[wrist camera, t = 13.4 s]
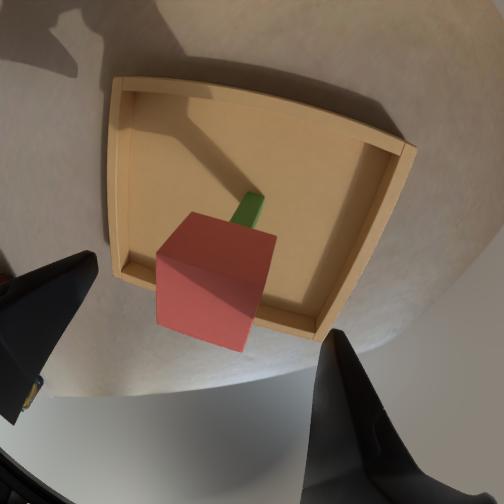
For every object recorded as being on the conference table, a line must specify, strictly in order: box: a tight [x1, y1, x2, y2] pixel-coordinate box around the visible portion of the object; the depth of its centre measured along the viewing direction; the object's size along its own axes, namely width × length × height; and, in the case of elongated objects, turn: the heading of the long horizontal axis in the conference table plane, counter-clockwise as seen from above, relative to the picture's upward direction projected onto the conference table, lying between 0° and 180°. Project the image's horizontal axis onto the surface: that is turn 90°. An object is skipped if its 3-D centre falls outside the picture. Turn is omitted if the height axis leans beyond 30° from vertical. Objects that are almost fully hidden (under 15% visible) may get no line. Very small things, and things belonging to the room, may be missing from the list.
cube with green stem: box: [156, 192, 277, 352], centre depth 13 cm, size 3×3×9 cm
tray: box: [107, 76, 418, 342], centre depth 17 cm, size 17×15×2 cm
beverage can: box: [21, 375, 44, 412], centre depth 48 cm, size 7×7×12 cm
